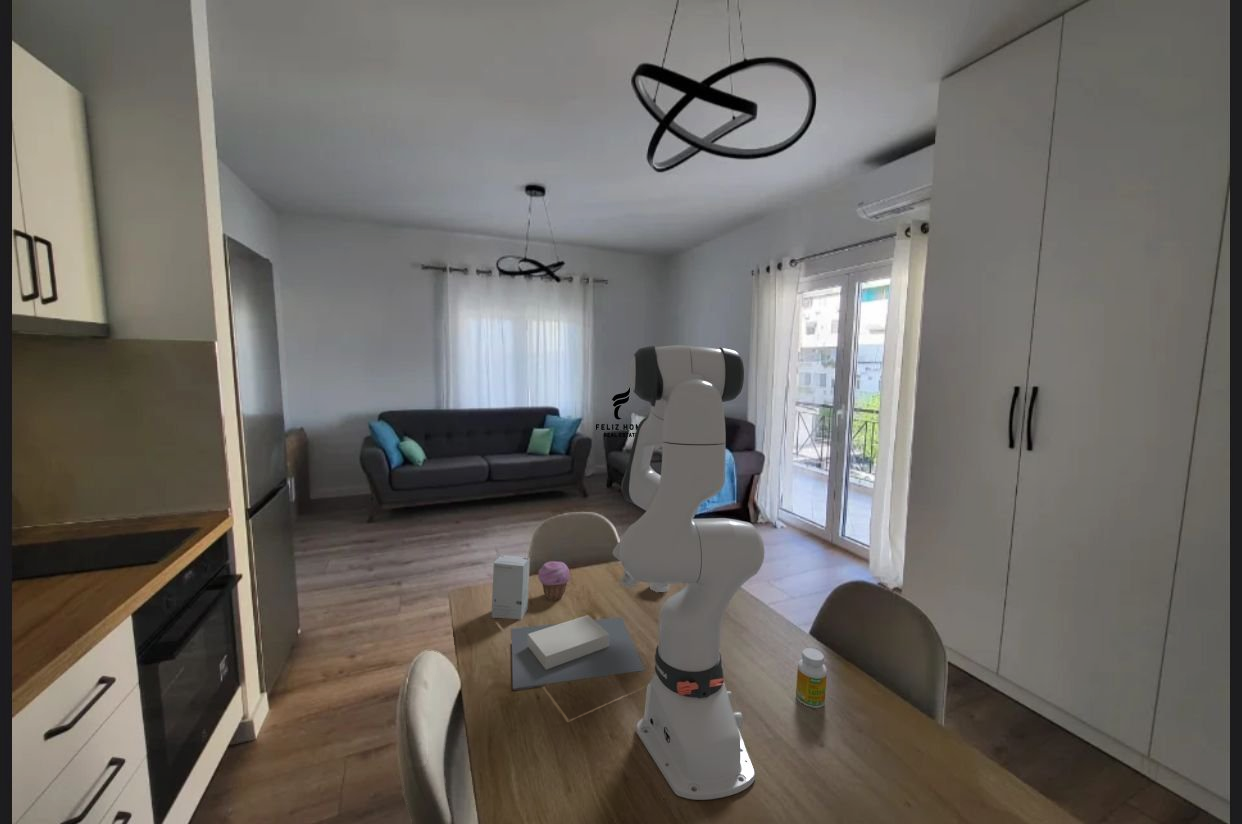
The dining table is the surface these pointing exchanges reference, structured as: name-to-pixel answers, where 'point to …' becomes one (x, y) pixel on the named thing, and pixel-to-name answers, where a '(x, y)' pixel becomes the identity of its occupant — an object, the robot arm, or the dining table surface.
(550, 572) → the cupcake
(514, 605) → the skincare box
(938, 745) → the dining table surface
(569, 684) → the dining table surface
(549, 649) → the plain white box
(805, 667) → the supplement bottle
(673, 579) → the robot arm
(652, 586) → the grey white cylinder
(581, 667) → the slate mat
